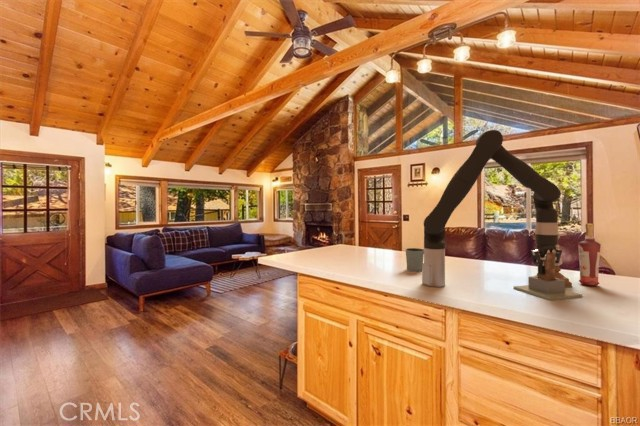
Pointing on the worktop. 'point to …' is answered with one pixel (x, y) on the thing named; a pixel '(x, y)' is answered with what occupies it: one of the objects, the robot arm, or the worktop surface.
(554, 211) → the robot arm
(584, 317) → the worktop surface
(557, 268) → the candle holder
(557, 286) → the box on flat tray
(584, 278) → the liquor
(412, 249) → the grey-green tapered pot
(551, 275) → the wooden peg
